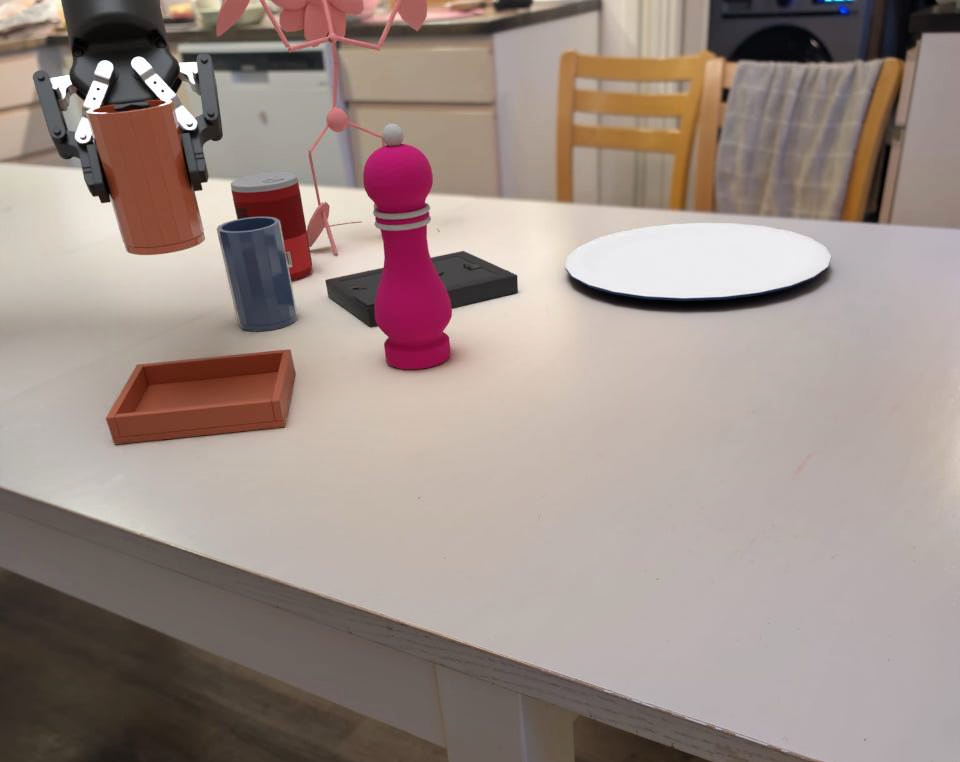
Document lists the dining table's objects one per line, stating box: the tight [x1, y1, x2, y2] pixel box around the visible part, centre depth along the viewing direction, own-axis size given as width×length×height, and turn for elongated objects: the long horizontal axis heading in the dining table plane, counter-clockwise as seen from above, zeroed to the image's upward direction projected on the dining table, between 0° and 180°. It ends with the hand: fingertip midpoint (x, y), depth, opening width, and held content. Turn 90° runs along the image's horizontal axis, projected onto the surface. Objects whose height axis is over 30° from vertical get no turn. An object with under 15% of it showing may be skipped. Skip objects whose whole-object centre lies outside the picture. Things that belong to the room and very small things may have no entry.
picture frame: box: [325, 250, 519, 328], centre depth 105 cm, size 13×2×18 cm
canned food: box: [230, 171, 313, 282], centre depth 113 cm, size 8×8×11 cm
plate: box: [564, 222, 833, 302], centre depth 105 cm, size 29×29×2 cm
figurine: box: [215, 0, 440, 256], centre depth 119 cm, size 15×26×35 cm, turn 119°
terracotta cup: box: [86, 99, 206, 256], centre depth 74 cm, size 6×6×10 cm
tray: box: [105, 349, 296, 445], centre depth 83 cm, size 14×12×2 cm
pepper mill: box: [362, 123, 453, 370], centre depth 84 cm, size 7×7×20 cm
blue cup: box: [216, 217, 298, 332], centre depth 99 cm, size 6×6×10 cm
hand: (150, 190), depth 73 cm, fingers closed on terracotta cup, 6 cm apart
